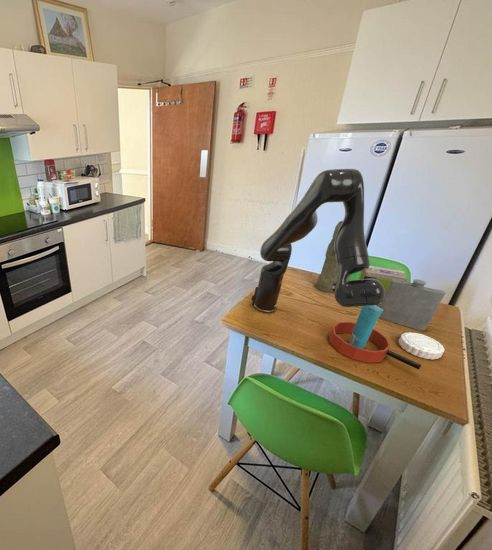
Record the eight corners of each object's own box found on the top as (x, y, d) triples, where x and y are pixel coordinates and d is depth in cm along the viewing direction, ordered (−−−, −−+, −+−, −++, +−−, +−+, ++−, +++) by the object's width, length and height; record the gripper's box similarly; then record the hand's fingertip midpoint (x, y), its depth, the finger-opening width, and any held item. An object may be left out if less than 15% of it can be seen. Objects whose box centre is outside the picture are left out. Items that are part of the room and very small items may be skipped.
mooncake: (398, 334, 118) (401, 327, 116) (439, 346, 111) (443, 339, 110) (397, 350, 110) (401, 343, 108) (442, 365, 103) (447, 357, 102)
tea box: (392, 297, 142) (404, 269, 135) (395, 307, 134) (409, 279, 127) (354, 289, 149) (364, 263, 142) (355, 299, 141) (366, 271, 134)
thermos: (340, 287, 151) (363, 221, 135) (330, 295, 145) (353, 227, 129) (321, 281, 157) (341, 217, 141) (311, 288, 151) (331, 222, 135)
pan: (320, 342, 115) (324, 332, 113) (341, 326, 123) (345, 316, 121) (406, 386, 95) (412, 375, 93) (424, 364, 104) (430, 353, 101)
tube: (369, 351, 110) (389, 308, 101) (359, 353, 109) (378, 310, 100) (352, 338, 117) (369, 297, 108) (342, 341, 116) (358, 299, 107)
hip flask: (425, 327, 121) (448, 285, 112) (424, 332, 119) (448, 289, 109) (377, 312, 131) (394, 273, 122) (375, 316, 129) (393, 276, 119)
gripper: (390, 284, 87) (385, 283, 100) (332, 275, 96) (335, 276, 108) (384, 308, 88) (380, 305, 101) (327, 298, 96) (330, 296, 109)
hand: (356, 290), depth 104 cm, fingers open, 8 cm apart
